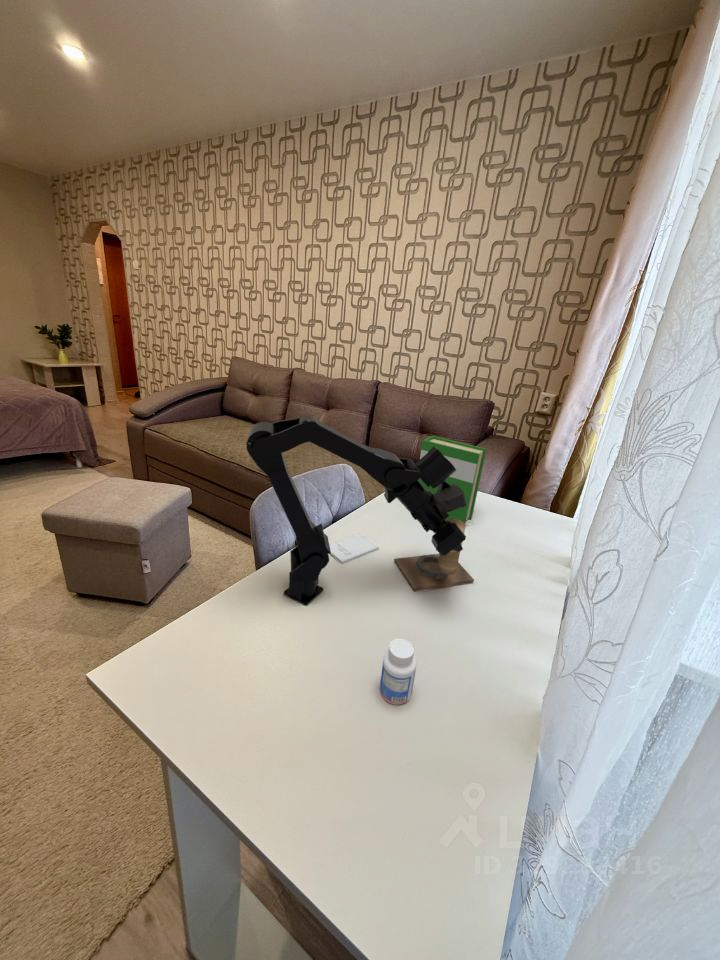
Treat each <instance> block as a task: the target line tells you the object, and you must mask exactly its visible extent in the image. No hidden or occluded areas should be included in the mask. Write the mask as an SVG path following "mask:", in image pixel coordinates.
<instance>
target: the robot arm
mask: <svg viewBox="0 0 720 960" xmlns="http://www.w3.org/2000/svg"><path fill="white" fill-rule="evenodd" d="M309 442H310V443H311V444H314V445H315V446H318V447H320V448H321V449H323V450H325V451H327V452H330V453H332V454H334V455H336V456H337V457H340V458H342V459H343V460H345V461H347V462H350V464H351V463H352V464H354V465H355V466H358V467H359V468H361V469H362V470H363V471H364V472H365V473H367V474H368V475H369V476H370V477H371V478H372V479H374V480H375V481H376V482H377V483H378V484H380V485H382V486H383V487H384V490H385V491H384V494H383V496H384V498H385V500H386V502H387V503H388V504H391V503H392V502H393V501H394V500H396V499H397V500H398V501H399V503H401V504H402V505H403V506H404V508H405V509H406V510H408V512H409V513H410V515H411V517H412V518H413V520H415V521H417V522H418V523H419V524H420V525H421V527H422V528H423V530H424V531H425V532H426V533H427V532H429V531H432V532H433V533H434V534H433V535H432V537H431V543H432V545H433V546H434V548H435V550H436V552H438V554H441V555H442V556H445V555H446V554H448V553H449V552H450V551H451V550H454V551H458V552H460V553H461V551H463V550H464V548H463V545H462V546H461V544H460V543H462V544H463V542H464V541H465V540H466V539H467V536H466V534H465V532H464V533H463V532H462V531H461V529H460V528H459V527H458V526H457V525H456V524H455V523H451V522H446V520H445V519H446V518H447V517H449V516H450V515H449V514H448V513H447V512H451V511H453V510H456V509H458V508H463V507H465V506H466V505H467V503H466V499H465V496H464V492H463V491H462V490H461V489H460V488H459V486H457V485H454V484H452V486H451V485H450V484H449V483H448V482H447V481H446V480H445V479H447V478H448V477H449V476H450V475H451V474H453V473H454V472H455V471H456V469H455V467H454V466H453V465H452V463H451V462H450V461H449V460H448V459H446V458H445V457H444V456H443V455H442V454H441V453H440V451H439V450H438V449H437V448H436V447H433V448H431V449H430V450H429V451H428V453H427V454H426V455H425V456H423V457H422V458H421V459H420V458H419V460H417V461H416V462H414V461H413V460H412V459H410V458H403V457H398V456H397V454H395V453H394V452H390V451H388V450H384V449H381V448H377V447H371V446H368V445H365V444H363V443H361V442H359V441H357V440H355V439H353V438H352V437H350V436H348V435H346V434H344V433H343V432H340V431H338V430H336V429H335V428H333V427H331V426H329V425H327V424H325V423H323V422H322V421H320V420H318V419H317V418H316V417H314V416H312V415H310V414H308V415H307V414H306V415H303V416H300V417H296V418H291V419H290V418H289V419H283V420H281V419H280V420H279V421H274V422H268V421H261V422H257V423H255V424H254V425H252V427H251V428H250V430H249V433H248V436H247V439H246V451H247V453H248V455H249V457H250V458H251V459H252V460H253V462H254V463H255V465H256V466H257V467H258V468H259V469H260V471H262V473H264V474H265V475H266V477H268V480H269V482H270V484H271V486H272V488H273V491H274V493H275V495H276V497H277V499H278V501H279V503H280V504H281V507H282V510H283V512H284V514H285V517H286V518H287V521H288V522H289V524H290V526H291V529H292V531H293V533H294V535H295V538H296V544H297V545H296V546H295V547H294V548H292V549H291V550H290V552H289V553H290V555H289V556H290V572H289V575H288V579H289V581H288V583H289V584H288V587H287V588H285V590H284V591H283V595H285V596H287V597H288V598H289V599H292V600H294V601H296V602H297V603H300V604H301V605H304V606H308V605H309V604H310V603H311V602H313V600H314V599H315V598H317V596H319V595H320V594H321V593H322V592H323V591H324V587H323V586H320V585H318V584H319V576H320V573H322V572H321V571H322V570H323V569H325V567H327V566H328V564H329V562H330V556H329V555H330V554H331V551H330V546H329V545H330V542H329V537H328V535H327V534H325V531H324V529H323V523H320V524H318V525H316V524H314V523H313V522H312V521H311V519H310V516H309V514H308V511H307V509H306V507H305V505H304V502H303V500H302V497H301V496H300V493H299V490H298V489H297V486H296V484H295V481H294V480H293V477H292V475H291V473H290V471H289V468H288V466H287V463H286V457H285V453H286V452H288V451H290V450H293V449H294V448H296V447H299V446H300V445H302V444H305V443H309ZM419 479H421V480H422V481H423V482H424V483H425V484H426V485H427V487H429V486H431V487H432V488H436V487H437V486H438V485H439V486H438V490H437V493H435V494H433V493H431V492H430V491H429V492H428V491H427V490H426V489H425V488H424V487H423V486H422V485H421V484H420V482H419V481H418V480H419Z"/></svg>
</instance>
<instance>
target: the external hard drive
mask: <svg viewBox="0 0 720 960" xmlns="http://www.w3.org/2000/svg"><path fill="white" fill-rule="evenodd" d="M329 546H330V551H331V554H329V555H330V556H332V557H333V558H334V559H335V560H336V561H337V562H338V563H339V564H341V565H344V564H345V563H348V562H351V561H353V560H354V561H355V560H356V559H359V558H361V557H363V556H367V555H368V554H371V553H374V552H376V551H379V548H380V547H379V546H378V545H377V544H376V543H374V542H373V541H371V540H370V539H369V538H367V537H366V536H365V535H363V534H361V533H358V534H355V535H353V536H349V537H347V538H344V539H342V540H338V541H336V542H333V543H331V544H330V543H329Z"/></svg>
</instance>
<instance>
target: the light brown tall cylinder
mask: <svg viewBox="0 0 720 960" xmlns="http://www.w3.org/2000/svg"><path fill="white" fill-rule="evenodd" d="M446 522H451V523H455V524H456V525H457V526H458V527H459V528H460V529H461V531H462V532H463V533H464V534H465V531H466V523H464V522H462V521H460V520H457V519H448V520H446ZM460 544H461V546H462V547H463V542H462V543H460ZM438 554H439V559H438V565H437V569H438V570H439V571H440V572H442V573H444V574H448V575H451V574H454V573H455V572H456V569H457V565H458V562H459V559H460V554H461V551H460V552H458V551H454V550H451V551H450V552H449V553H448V554H446V555H445V556H442V555H441V554H440V553H438Z"/></svg>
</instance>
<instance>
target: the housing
mask: <svg viewBox="0 0 720 960" xmlns="http://www.w3.org/2000/svg"><path fill="white" fill-rule="evenodd" d="M439 554H440V553H433V554H423V555H414V556H409V557H408V556H407V557H398V558H394V561H393V562H394V564H395V566H396V567H397V568H398V570H399V572H400V573H401V575H402V577H404V579H405V581H406V583H407V584H408V586H409V587H410V589H411V590H412V592H413V593H414V592H421V591H427V590H434V589H443V588H448V587H450V588H451V587H455V586H463V585H469V584H474V582H475V579H474V578H473V577H472V575H471V574H470V573H469V572H468V570H466V569H465V568H464V566H463V565H462V564H461V563H460V562H459V561H458V565H457V569H456V572H455V573H454V574H451V575H448V574H444V573H442V572H440V571H439V570H438V569H437V565H438V559H439Z"/></svg>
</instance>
